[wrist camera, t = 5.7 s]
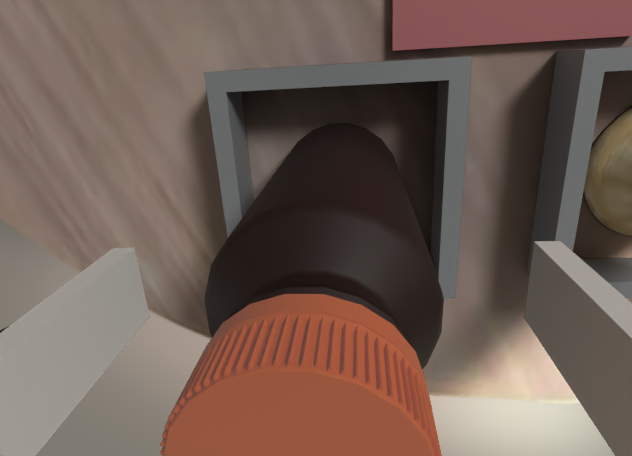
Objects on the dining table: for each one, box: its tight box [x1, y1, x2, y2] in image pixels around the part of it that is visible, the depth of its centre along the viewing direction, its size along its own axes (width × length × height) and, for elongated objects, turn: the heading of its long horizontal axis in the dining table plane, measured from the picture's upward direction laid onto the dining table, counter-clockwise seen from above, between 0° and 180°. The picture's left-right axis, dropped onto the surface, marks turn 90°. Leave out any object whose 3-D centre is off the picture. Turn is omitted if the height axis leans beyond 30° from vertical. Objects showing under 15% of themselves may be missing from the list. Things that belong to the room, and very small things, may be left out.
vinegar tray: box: [204, 56, 472, 298], centre depth 24 cm, size 13×13×3 cm
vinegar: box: [160, 123, 444, 456], centre depth 17 cm, size 7×7×20 cm
